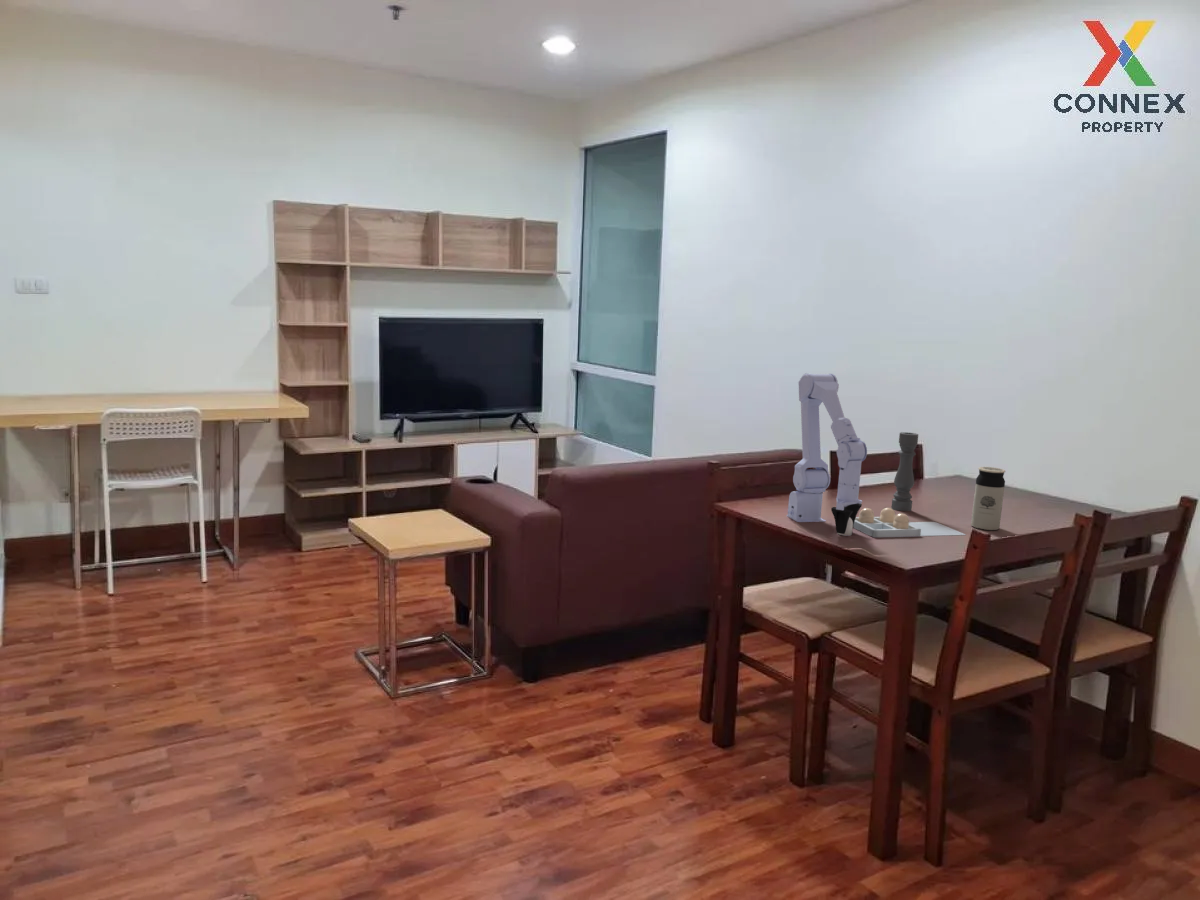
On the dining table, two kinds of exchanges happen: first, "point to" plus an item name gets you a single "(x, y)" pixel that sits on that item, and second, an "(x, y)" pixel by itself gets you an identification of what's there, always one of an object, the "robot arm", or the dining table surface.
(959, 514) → the dining table surface
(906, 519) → the brown egg back
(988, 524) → the travel mug
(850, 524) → the white egg
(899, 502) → the candle holder
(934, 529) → the egg carton
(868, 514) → the brown egg left
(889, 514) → the brown egg far
